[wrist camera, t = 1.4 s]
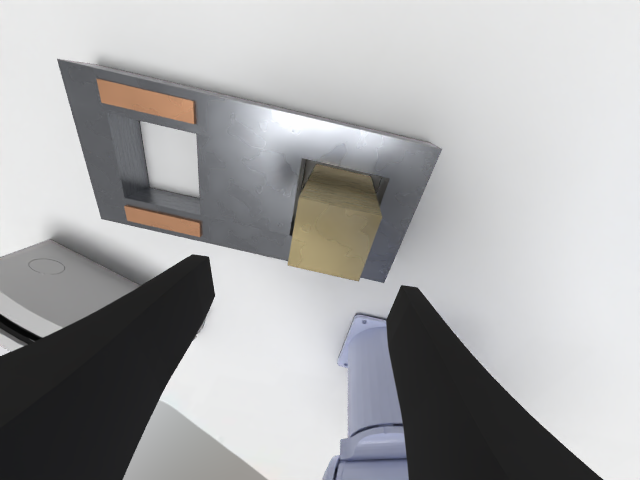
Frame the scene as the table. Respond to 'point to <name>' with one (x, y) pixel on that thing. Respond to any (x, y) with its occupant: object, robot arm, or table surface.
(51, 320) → the grey rounded block
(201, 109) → the rail plate
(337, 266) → the brass peg
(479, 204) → the table surface
